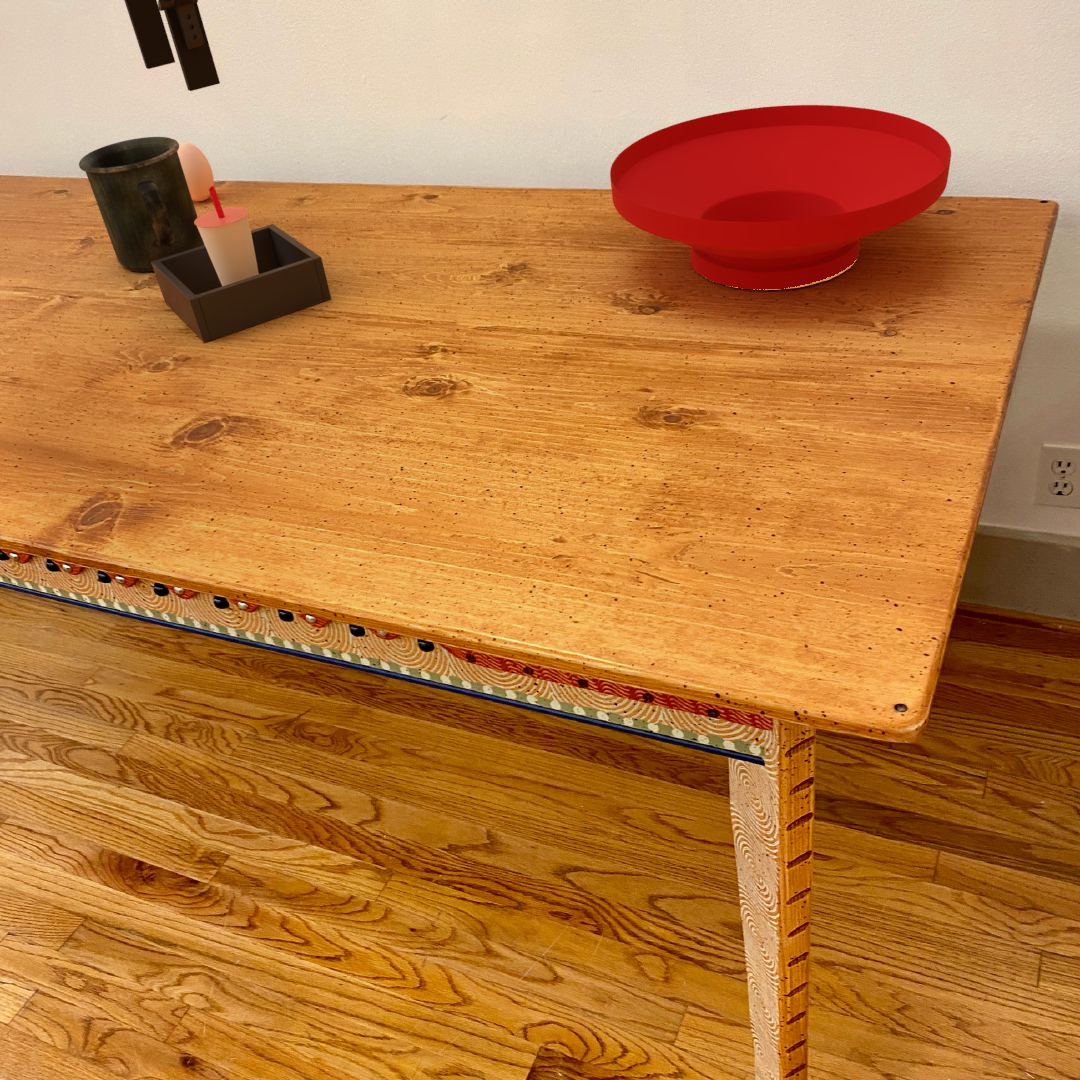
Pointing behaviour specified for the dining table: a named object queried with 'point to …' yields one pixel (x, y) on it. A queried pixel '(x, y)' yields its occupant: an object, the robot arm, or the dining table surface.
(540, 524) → the dining table surface
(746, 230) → the bowl
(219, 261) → the cup
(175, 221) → the mug
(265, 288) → the dark brown open box
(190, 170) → the egg
